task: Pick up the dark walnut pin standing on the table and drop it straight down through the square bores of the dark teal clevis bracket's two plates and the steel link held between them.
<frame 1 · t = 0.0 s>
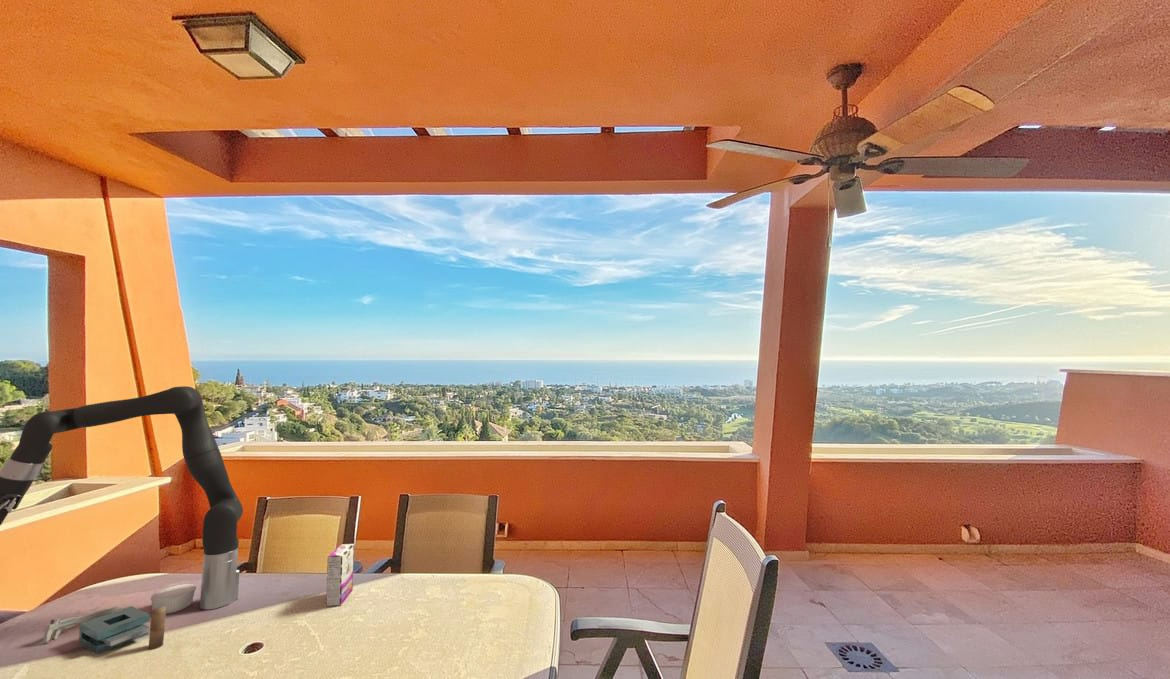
caliper: (85, 626, 138), on the table
ramekin: (172, 608, 148), on the table
candy bar box: (339, 599, 155), on the table
clevis: (115, 639, 130), on the table
pin: (155, 646, 127), on the table
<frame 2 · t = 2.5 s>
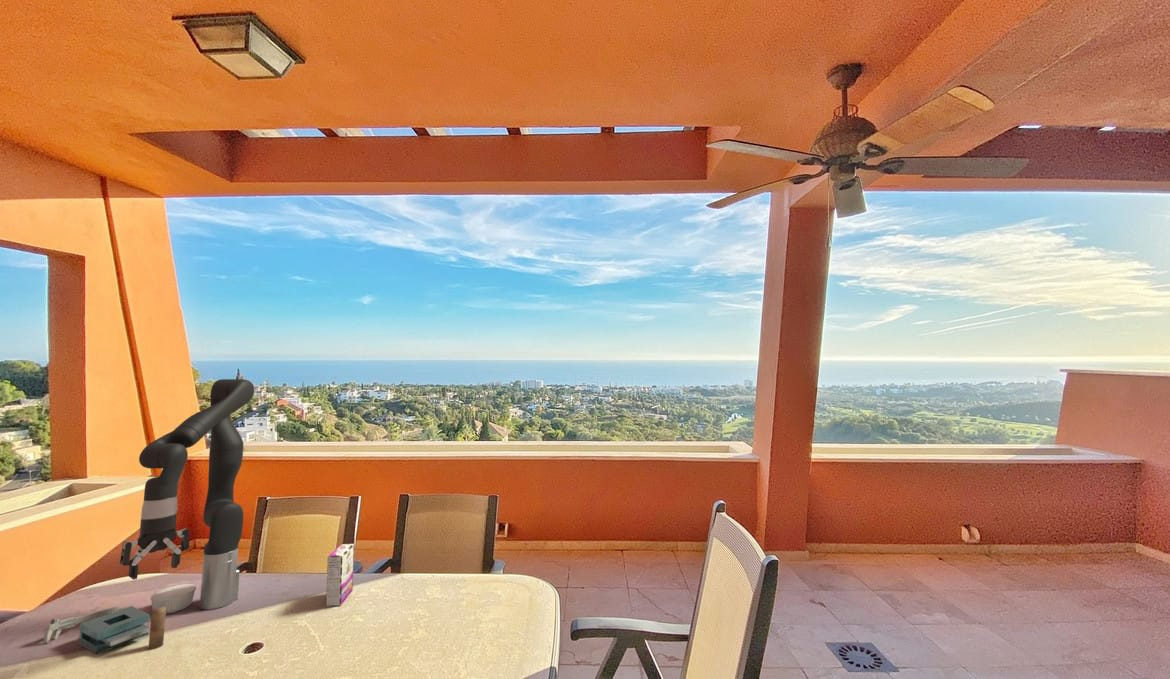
hand: (154, 572, 128), 20 cm above the table, tool pointing down, fingers open, 8 cm apart
nothing on the table moved.
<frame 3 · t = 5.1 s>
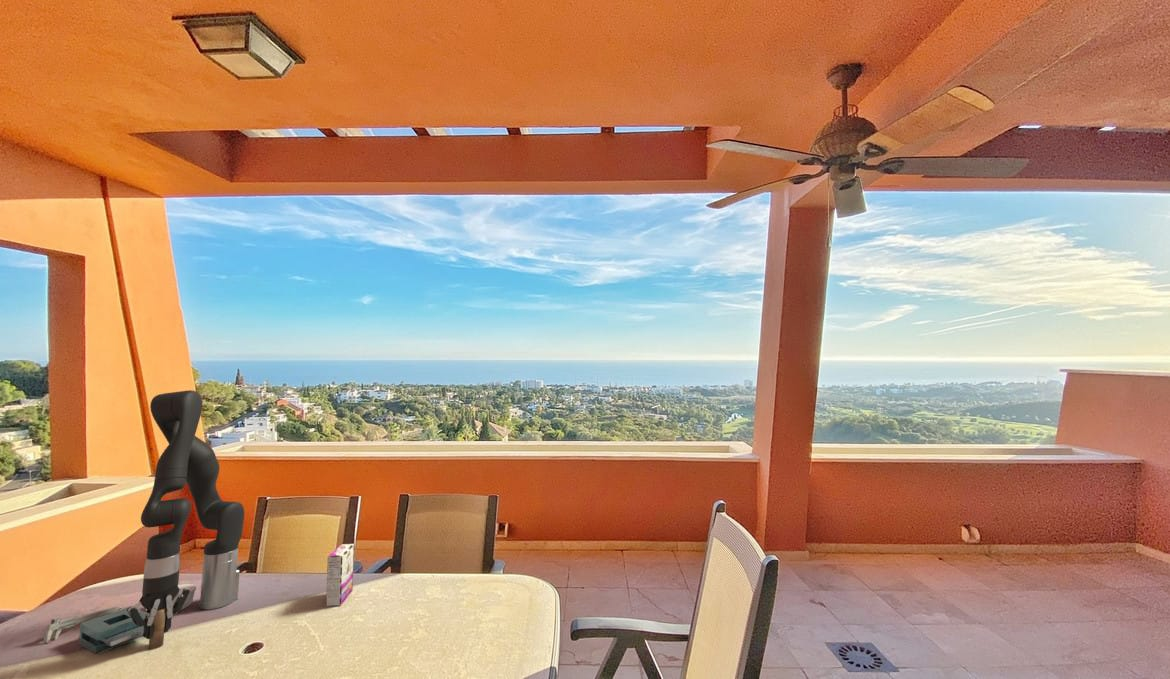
hand: (156, 634, 127), 3 cm above the table, tool pointing down, fingers closed on pin, 3 cm apart
pin: (155, 646, 127), on the table, touching gripper
everything else where it was.
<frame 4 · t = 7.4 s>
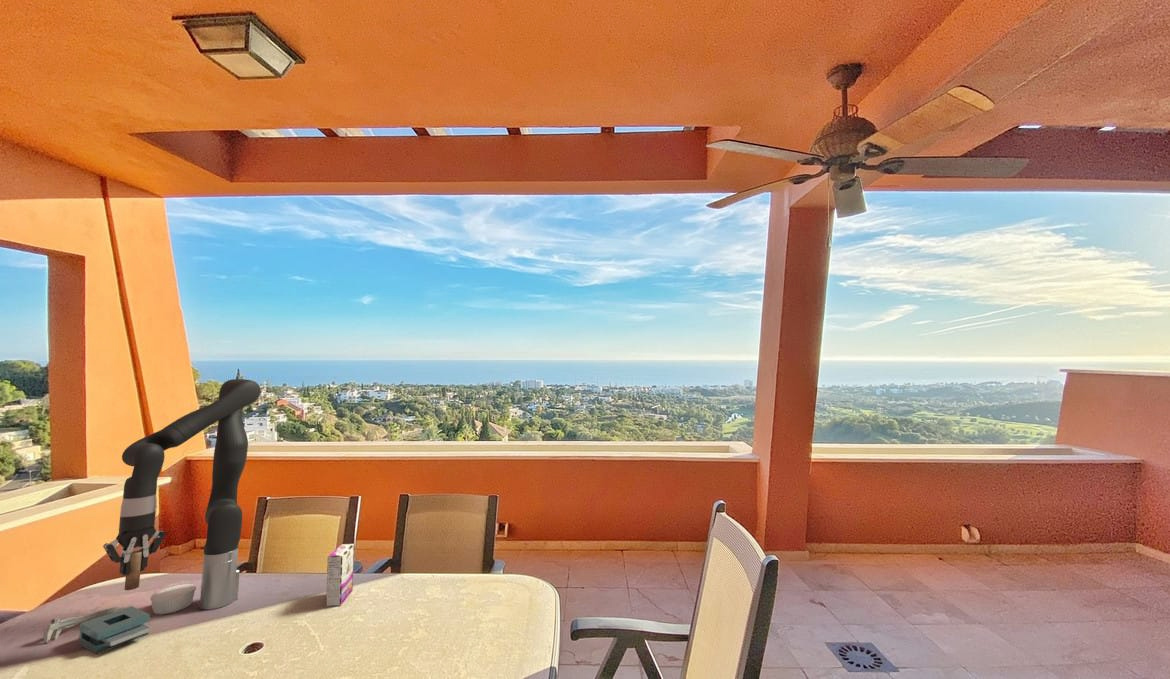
hand: (133, 572, 131), 19 cm above the table, tool pointing down, fingers closed on pin, 3 cm apart
pin: (131, 587, 130), point 15 cm above the table, touching gripper
everything else where it was.
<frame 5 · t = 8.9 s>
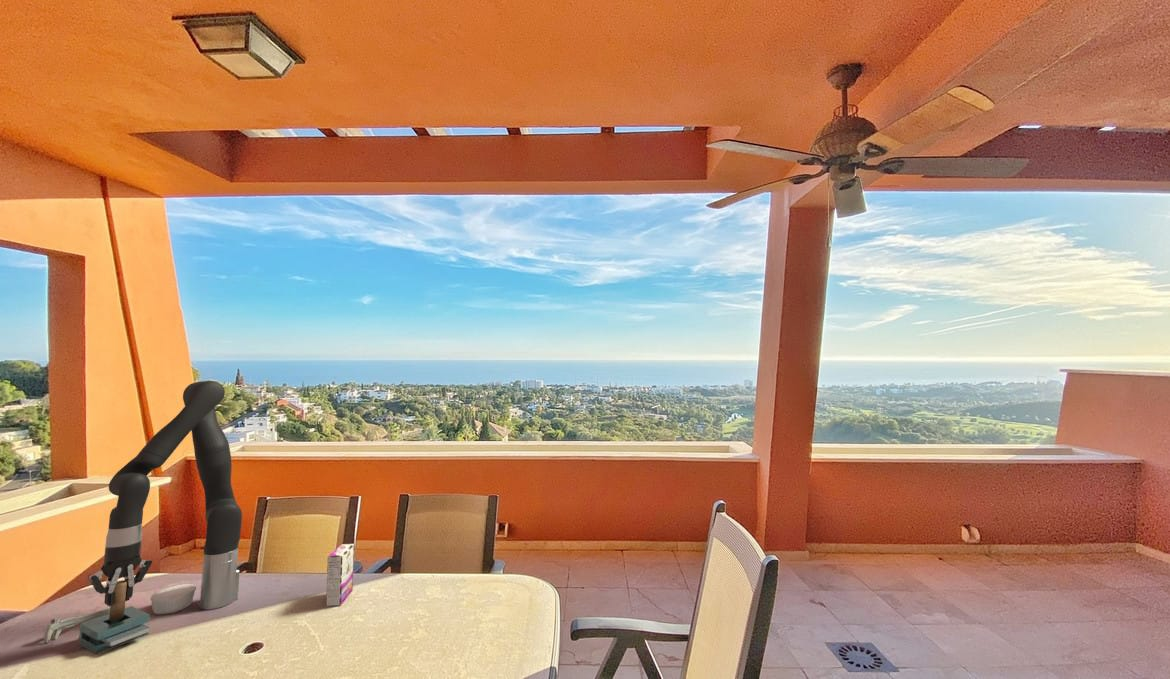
hand: (118, 602, 131), 10 cm above the table, tool pointing down, fingers closed on pin, 3 cm apart
pin: (116, 618, 131), point 6 cm above the table, touching gripper
everything else where it was.
when the fingers open (7 cm above the table, at t = 9.9 s): pin drops 3 cm, resting in clevis.
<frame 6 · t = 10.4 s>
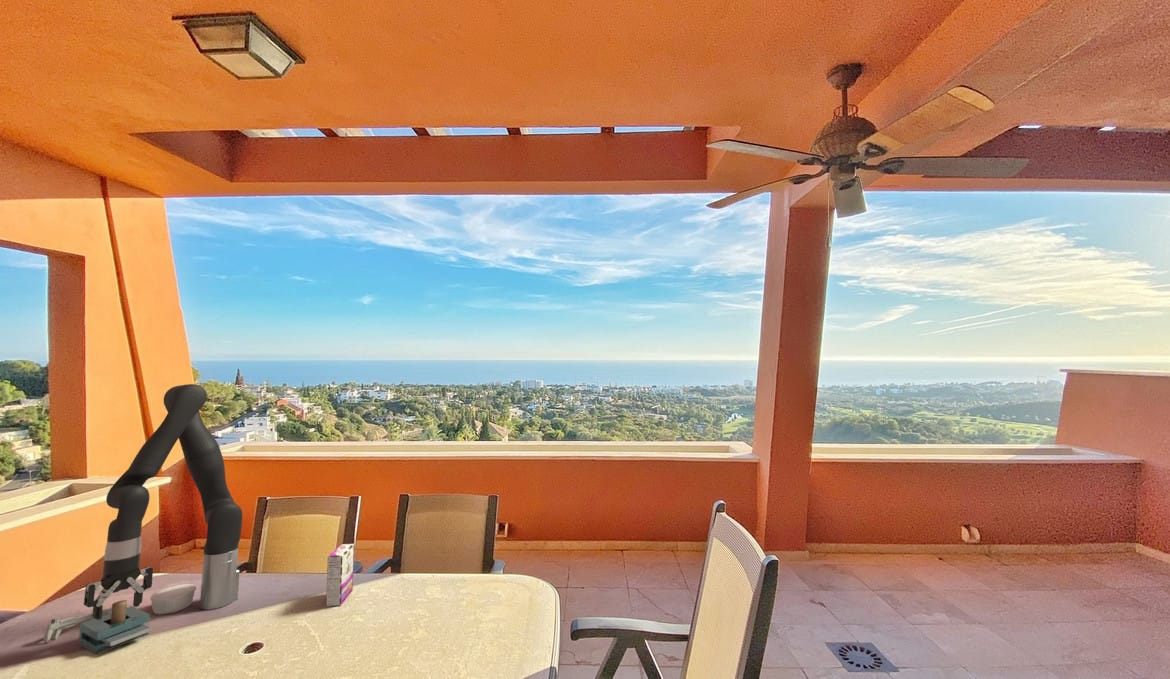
hand: (117, 612, 131), 7 cm above the table, tool pointing down, fingers open, 7 cm apart
pin: (116, 638, 130), resting in clevis
everything else where it was.
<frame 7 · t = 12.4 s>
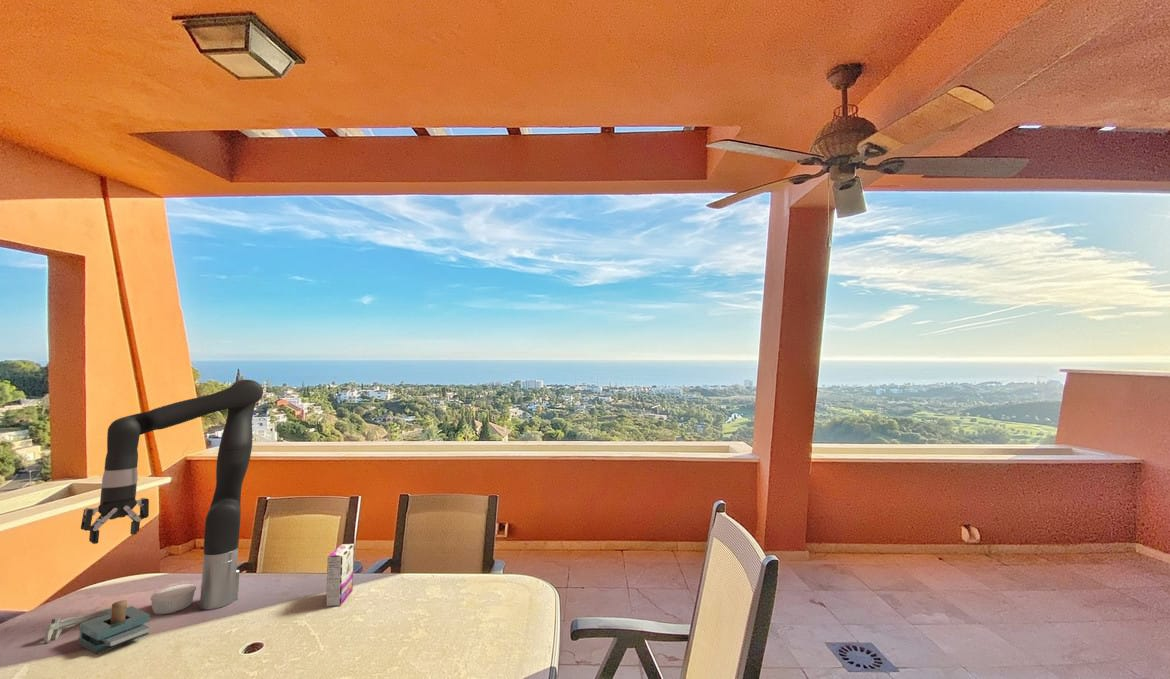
hand: (114, 538, 135), 27 cm above the table, tool pointing down, fingers open, 8 cm apart
nothing on the table moved.
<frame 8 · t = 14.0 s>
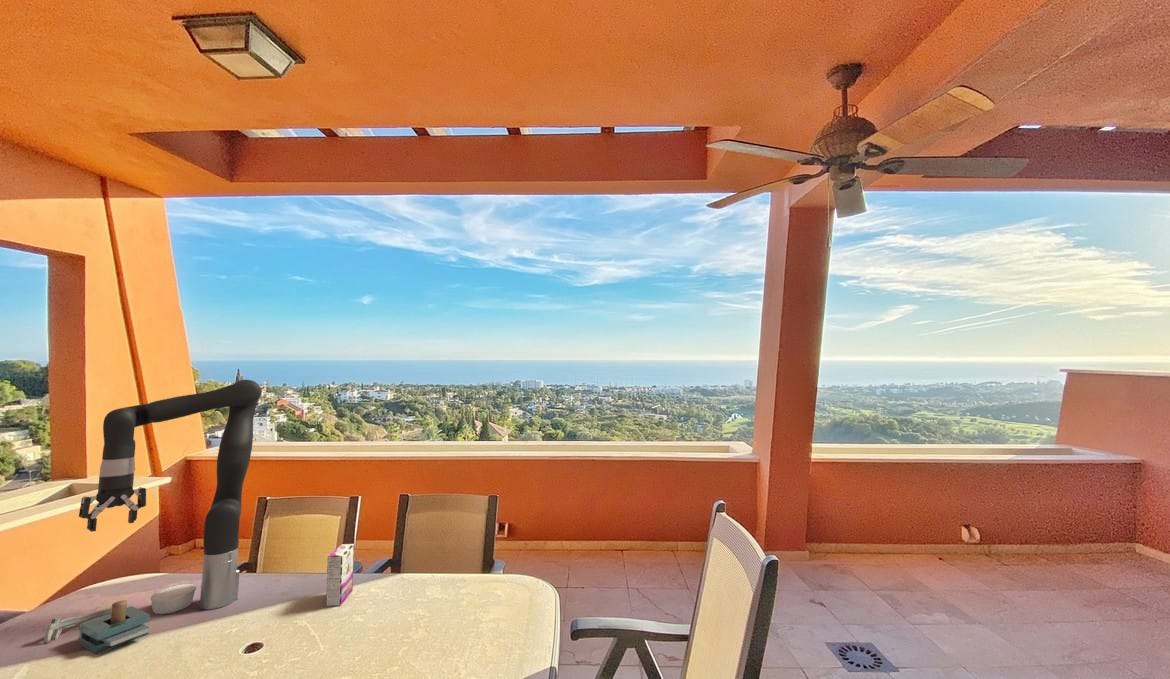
hand: (112, 526, 138), 30 cm above the table, tool pointing down, fingers open, 8 cm apart
nothing on the table moved.
at the end: pin 0.3 cm off-centre on the clevis, point 0.0 cm above the clevis's base; pin tilted 0°; the gripper is holding nothing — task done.
